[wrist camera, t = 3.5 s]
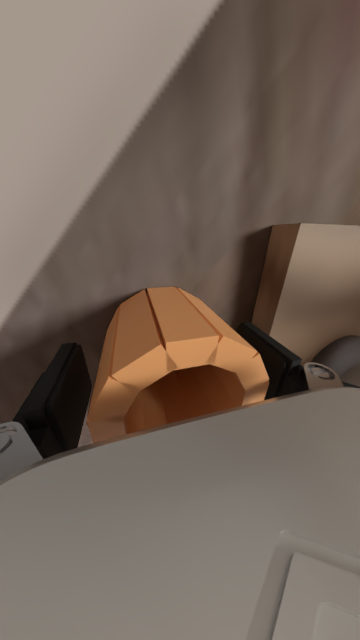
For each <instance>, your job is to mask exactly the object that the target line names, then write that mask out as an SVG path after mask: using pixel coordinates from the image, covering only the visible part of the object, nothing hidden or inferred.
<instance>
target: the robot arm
mask: <svg viewBox="0 0 360 640" xmlns="http://www.w3.org/2000/svg"><path fill="white" fill-rule="evenodd" d="M237 333H238V334H239V335H240V336H241V337H242V338H243V339H244V340H245V341H246V342H248V343H249V344H250V345H251V346H252V347H253V348H254V349H255V350H256V351H258V353H259V354H260V356H261V358H262V361H263V364H264V366H265V369H266V372H267V374H268V377H269V380H268V381H269V386H268V389H267V392H266V395H265V398H264V400H263V401H259V402H255V403H251V404H246V405H242V406H238V407H234V408H230V409H226V410H222V411H218V412H214V413H209V414H205V415H201V416H197V417H193V418H189V419H185V420H181V421H177V422H173V423H169V424H165V425H161V426H157V427H153V428H149V429H145V430H141V431H137V432H133V433H130V434H126V435H122V436H118V437H114V438H111V439H107V440H103V441H99V442H96V443H92V444H88V445H85V446H81V447H78V443H79V439H80V434H81V430H82V426H83V422H84V418H85V414H86V409H87V405H88V401H89V397H90V393H91V388H92V385H91V380H90V376H89V373H88V369H87V365H86V362H85V358H84V355H83V351H82V347H81V345H77V344H76V343H66V344H62V345H61V347H60V349H59V350H58V352H57V354H56V355H55V357H54V358H53V360H52V362H51V363H50V365H49V367H48V368H47V370H46V372H44V373H42V375H41V376H40V378H39V379H38V381H37V382H36V384H35V386H34V387H33V389H32V390H31V392H30V394H29V395H28V397H27V398H26V400H25V402H24V403H23V405H22V406H21V408H20V410H19V411H18V413H17V414H16V416H15V418H14V419H13V421H12V422H5V423H2V424H0V640H360V387H359V386H356V385H353V384H349V383H346V382H343V381H341V380H340V378H339V376H338V374H337V373H336V372H335V371H333V370H332V369H330V368H329V367H327V366H325V365H322V364H319V363H314V362H308V363H305V364H304V366H302V365H300V364H301V361H302V359H301V358H300V357H299V356H297V355H296V354H294V353H293V352H291V351H290V350H289V349H287V348H286V347H284V346H283V345H282V344H280V343H279V342H277V341H276V340H275V339H273V338H272V337H270V336H269V335H268V334H266V333H265V332H263V331H262V330H261V329H259V328H258V327H256V326H255V325H254V324H252V323H251V322H246V323H241V324H240V326H238V328H237ZM77 447H78V448H77Z"/></svg>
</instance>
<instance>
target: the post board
mask: <svg viewBox="0 0 360 640" xmlns="http://www.w3.org/2000/svg"><path fill="white" fill-rule="evenodd" d="M251 323H252V324H254V325H255V326H256V327H258V328H259V329H261V330H262V331H263V332H265V333H266V334H268V335H269V336H270V337H272V338H273V339H275V340H276V341H277V342H279V343H280V344H282V345H283V346H284V347H286V348H287V349H289V350H290V351H291V352H293V353H294V354H296V355H297V356H299V357H300V358H301V359H302V361H301V364H300V365H302V366H304V364H305V363H308V362H314V363H319V364H322V365H325V366H327V367H329V368H330V369H332V370H333V371H335V372H336V373H337V374H338V376H339V378H340V380H341V381H343V382H346V383H349V384H353V385H356V386H359V387H360V226H351V225H329V224H306V223H298V224H283V225H273V226H272V231H271V235H270V240H269V244H268V249H267V254H266V258H265V263H264V267H263V272H262V276H261V281H260V286H259V290H258V295H257V299H256V304H255V308H254V313H253V318H252V322H251Z"/></svg>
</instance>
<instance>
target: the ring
mask: <svg viewBox="0 0 360 640" xmlns="http://www.w3.org/2000/svg"><path fill="white" fill-rule="evenodd" d="M268 380H269V377H268V374H267V372H266V369H265V366H264V364H263V361H262V358H261V356H260V354H259V353H258V351H256V350H255V349H254V348H253V347H252V346H251V345H250V344H249V343H248V342H246V341H245V340H244V339H243V338H242V337H241V336H240V335H239V334H238V333H237V332H235V331H234V330H233V329H232V328H231V327H230V326H229V325H228V324H227V323H225V322H224V321H223V320H222V319H221V318H220V317H219V316H218V315H217V314H215V313H214V312H213V311H212V310H211V309H210V308H209V307H208V306H207V305H205V304H204V303H203V302H202V301H201V300H200V299H199V298H197V297H195V296H193V295H191V294H189V293H187V292H186V291H184V290H182V289H180V288H178V287H177V288H176V287H158V288H147V292H146V291H145V289H143V290H142V291H140V292H139V293H137V294H136V295H134V296H132V297H131V298H129V299H128V300H126V301H125V302H123V303H121V304H120V307H118V308H117V310H116V312H115V314H114V316H113V318H112V320H111V323H110V325H109V327H108V329H107V332H106V337H105V341H104V345H103V350H102V354H101V359H100V363H99V368H98V372H97V376H96V381H95V385H94V390H93V394H92V398H91V403H90V407H89V412H88V416H87V425H88V428H89V431H90V434H91V437H92V440H93V443H96V442H99V441H103V440H107V439H111V438H114V437H118V436H122V435H126V434H130V433H133V432H137V431H141V430H145V429H149V428H153V427H157V426H161V425H165V424H169V423H173V422H177V421H181V420H185V419H189V418H193V417H197V416H201V415H205V414H209V413H214V412H218V411H222V410H226V409H230V408H234V407H238V406H242V405H246V404H251V403H255V402H259V401H263V400H264V398H265V395H266V392H267V389H268V386H269V381H268Z"/></svg>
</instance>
